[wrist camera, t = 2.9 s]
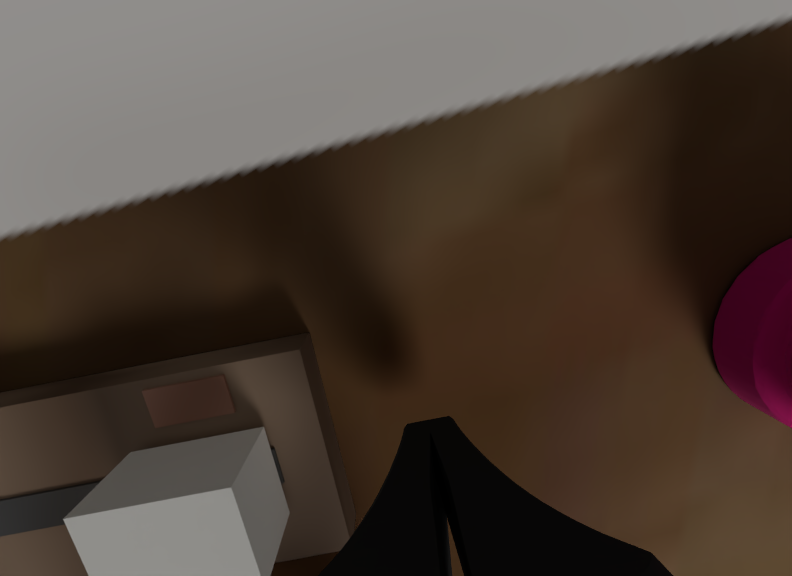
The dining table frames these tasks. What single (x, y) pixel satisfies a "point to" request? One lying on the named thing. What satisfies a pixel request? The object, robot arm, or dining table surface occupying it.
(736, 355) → the pepper mill
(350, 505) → the switch board
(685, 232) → the dining table surface
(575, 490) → the dining table surface
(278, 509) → the switch tab
